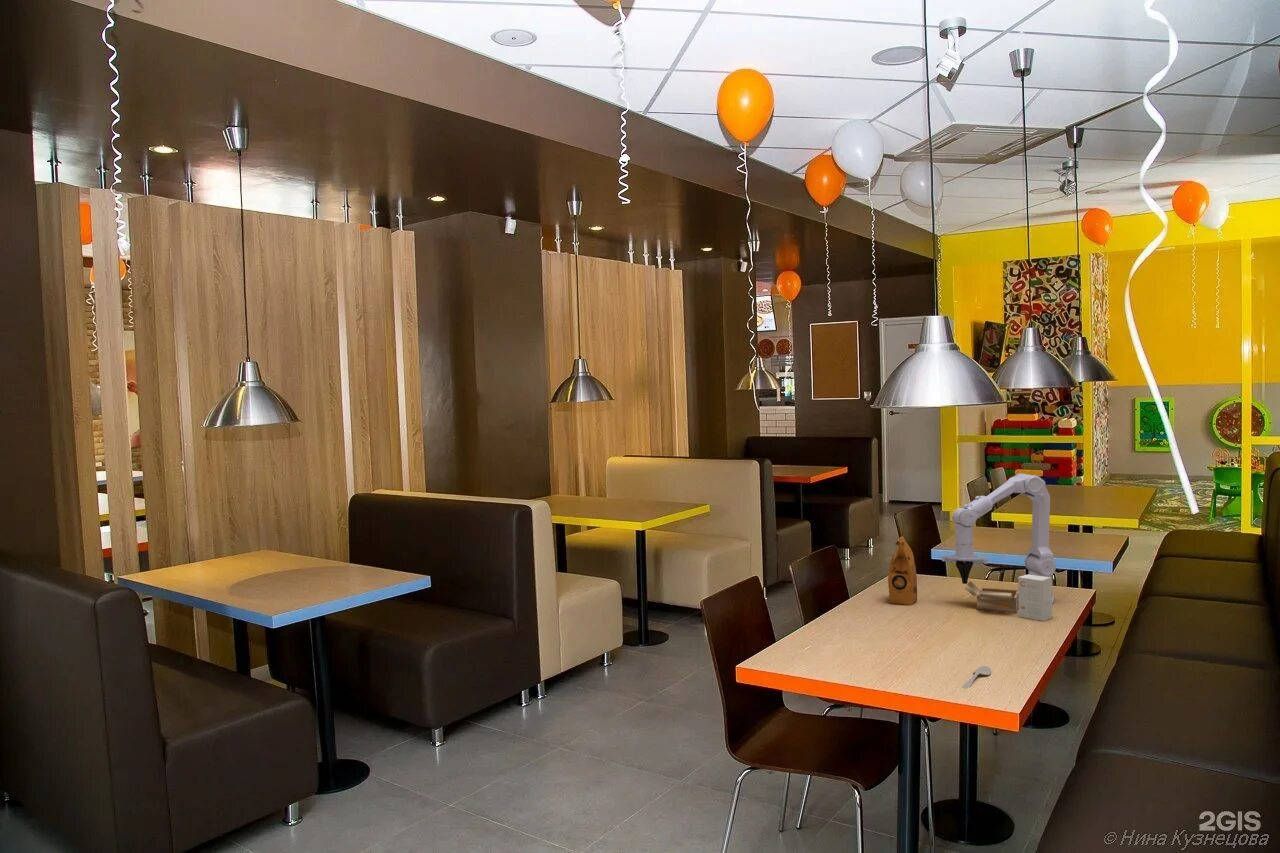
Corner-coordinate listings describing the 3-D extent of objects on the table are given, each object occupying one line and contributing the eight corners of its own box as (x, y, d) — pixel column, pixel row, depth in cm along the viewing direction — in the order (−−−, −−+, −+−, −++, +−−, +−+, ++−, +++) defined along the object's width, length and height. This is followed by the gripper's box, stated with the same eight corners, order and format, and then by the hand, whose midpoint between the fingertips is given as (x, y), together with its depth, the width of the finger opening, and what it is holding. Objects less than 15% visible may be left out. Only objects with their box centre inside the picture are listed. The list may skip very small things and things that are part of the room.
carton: (981, 602, 300) (981, 587, 300) (1019, 605, 295) (1019, 590, 294) (976, 610, 290) (976, 595, 289) (1016, 613, 284) (1015, 598, 284)
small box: (1052, 617, 277) (1052, 577, 277) (1043, 621, 273) (1042, 580, 273) (1027, 613, 284) (1027, 573, 283) (1018, 617, 280) (1017, 576, 279)
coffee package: (884, 604, 302) (883, 541, 301) (891, 596, 313) (890, 535, 312) (914, 606, 297) (913, 542, 296) (920, 598, 308) (918, 536, 308)
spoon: (994, 673, 227) (994, 666, 227) (967, 695, 211) (967, 689, 211) (978, 670, 230) (978, 664, 230) (950, 692, 214) (950, 685, 214)
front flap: (979, 590, 286) (979, 593, 285) (1011, 593, 281) (1011, 595, 281) (981, 595, 289) (980, 598, 288) (1012, 598, 284) (1012, 601, 284)
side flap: (970, 580, 301) (968, 582, 301) (966, 586, 292) (964, 588, 293) (980, 588, 299) (978, 590, 300) (976, 594, 291) (974, 596, 291)
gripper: (940, 544, 296) (940, 584, 297) (985, 546, 290) (986, 587, 290) (943, 541, 303) (944, 579, 303) (988, 543, 296) (988, 583, 296)
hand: (965, 583), depth 297 cm, fingers closed
